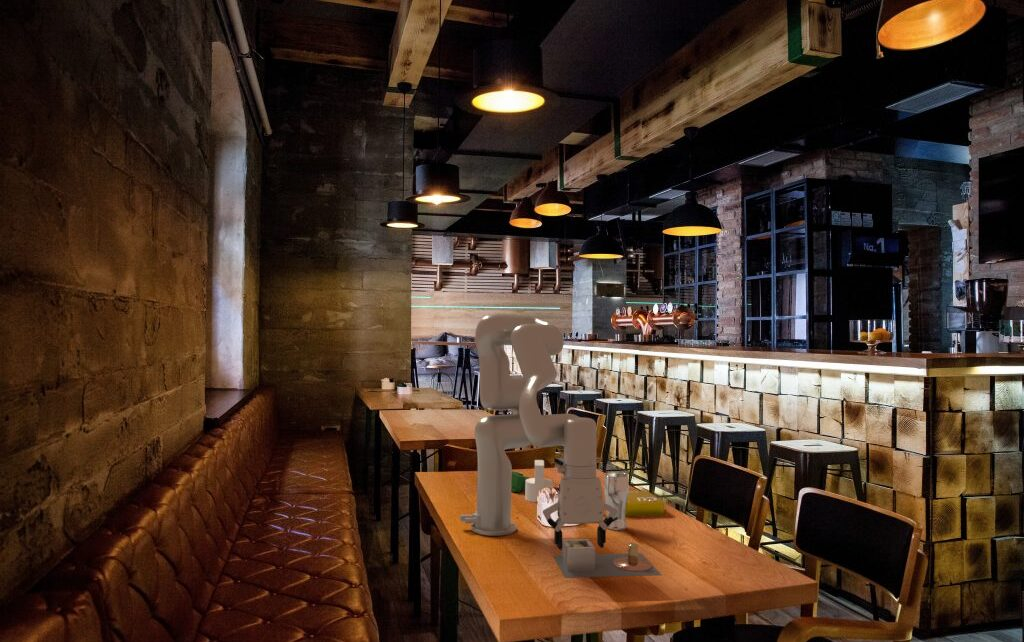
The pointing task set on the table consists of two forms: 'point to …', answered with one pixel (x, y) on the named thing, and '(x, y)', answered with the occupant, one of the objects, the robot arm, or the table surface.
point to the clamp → (518, 482)
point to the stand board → (604, 567)
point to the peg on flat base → (632, 560)
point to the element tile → (643, 504)
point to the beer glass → (617, 497)
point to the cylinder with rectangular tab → (536, 482)
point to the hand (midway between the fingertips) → (580, 546)
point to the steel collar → (578, 555)
